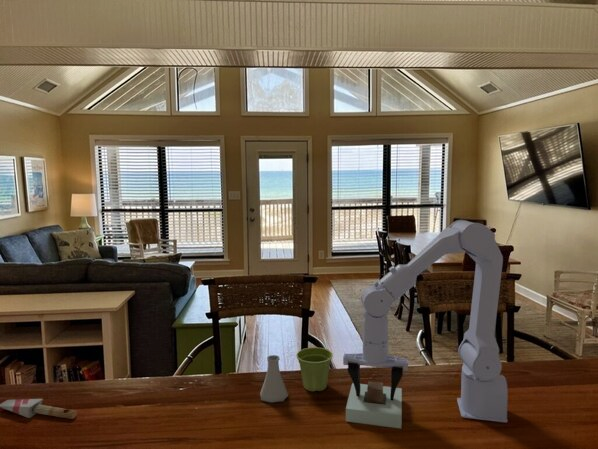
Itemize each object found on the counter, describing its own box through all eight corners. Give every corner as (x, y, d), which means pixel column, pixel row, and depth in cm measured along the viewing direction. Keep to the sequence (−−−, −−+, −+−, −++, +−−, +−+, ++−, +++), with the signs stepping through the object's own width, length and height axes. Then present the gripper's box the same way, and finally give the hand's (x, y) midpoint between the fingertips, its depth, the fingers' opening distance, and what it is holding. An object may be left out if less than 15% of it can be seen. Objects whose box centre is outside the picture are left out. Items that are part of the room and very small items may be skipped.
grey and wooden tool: (9, 392, 99) (80, 405, 94) (10, 403, 99) (80, 416, 95) (-6, 400, 95) (67, 414, 91) (-5, 412, 95) (67, 425, 91)
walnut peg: (382, 407, 96) (383, 382, 95) (382, 414, 92) (382, 389, 92) (368, 405, 97) (368, 381, 96) (367, 413, 93) (367, 388, 93)
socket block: (401, 400, 99) (401, 388, 98) (401, 428, 87) (401, 415, 87) (352, 394, 102) (352, 382, 101) (345, 421, 90) (345, 408, 90)
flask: (290, 389, 105) (289, 352, 104) (286, 404, 97) (285, 364, 97) (262, 388, 105) (261, 351, 104) (256, 403, 98) (255, 363, 97)
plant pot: (319, 399, 99) (319, 365, 99) (289, 388, 105) (289, 356, 104) (339, 384, 107) (339, 352, 106) (310, 374, 112) (310, 344, 112)
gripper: (407, 335, 95) (407, 391, 96) (346, 331, 98) (346, 384, 100) (408, 347, 88) (407, 406, 89) (341, 341, 92) (342, 399, 93)
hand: (375, 396), depth 94 cm, fingers open, 7 cm apart
